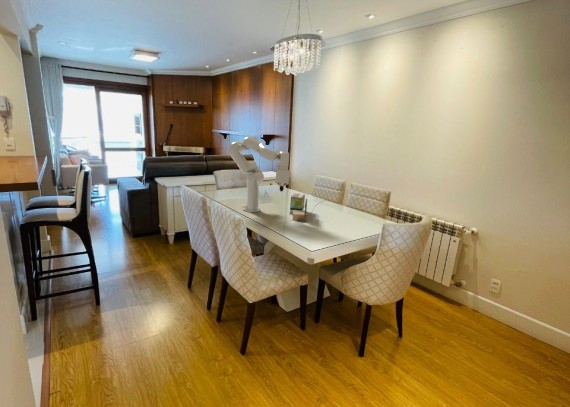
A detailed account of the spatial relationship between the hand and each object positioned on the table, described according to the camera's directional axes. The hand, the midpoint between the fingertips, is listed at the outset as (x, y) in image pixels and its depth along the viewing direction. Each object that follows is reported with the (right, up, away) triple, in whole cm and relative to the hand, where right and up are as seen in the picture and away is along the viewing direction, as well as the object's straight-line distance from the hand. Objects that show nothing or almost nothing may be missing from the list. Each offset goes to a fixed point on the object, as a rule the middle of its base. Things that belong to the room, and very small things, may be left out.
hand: (281, 191), depth 241 cm
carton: (+13, -22, +1) cm, 25 cm away
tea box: (+13, -17, +18) cm, 28 cm away
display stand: (+15, -21, +1) cm, 26 cm away
